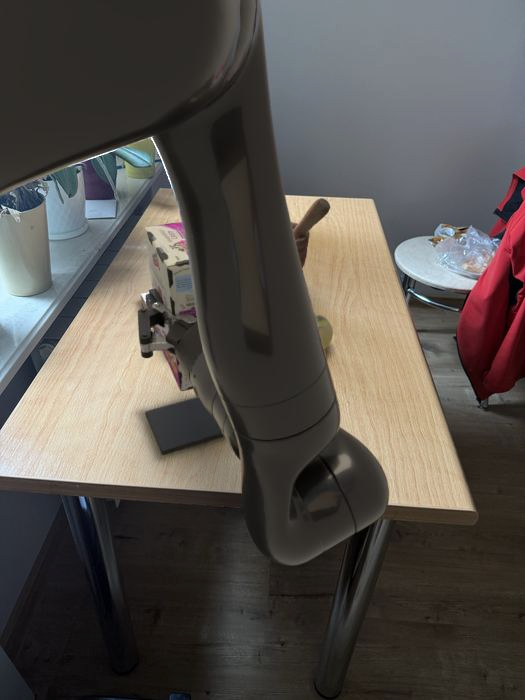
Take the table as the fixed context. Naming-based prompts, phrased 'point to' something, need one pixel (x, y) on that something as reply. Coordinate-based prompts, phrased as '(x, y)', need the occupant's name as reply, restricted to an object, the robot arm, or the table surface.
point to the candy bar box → (171, 281)
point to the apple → (324, 330)
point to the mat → (182, 425)
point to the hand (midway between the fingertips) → (175, 291)
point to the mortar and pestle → (308, 226)
